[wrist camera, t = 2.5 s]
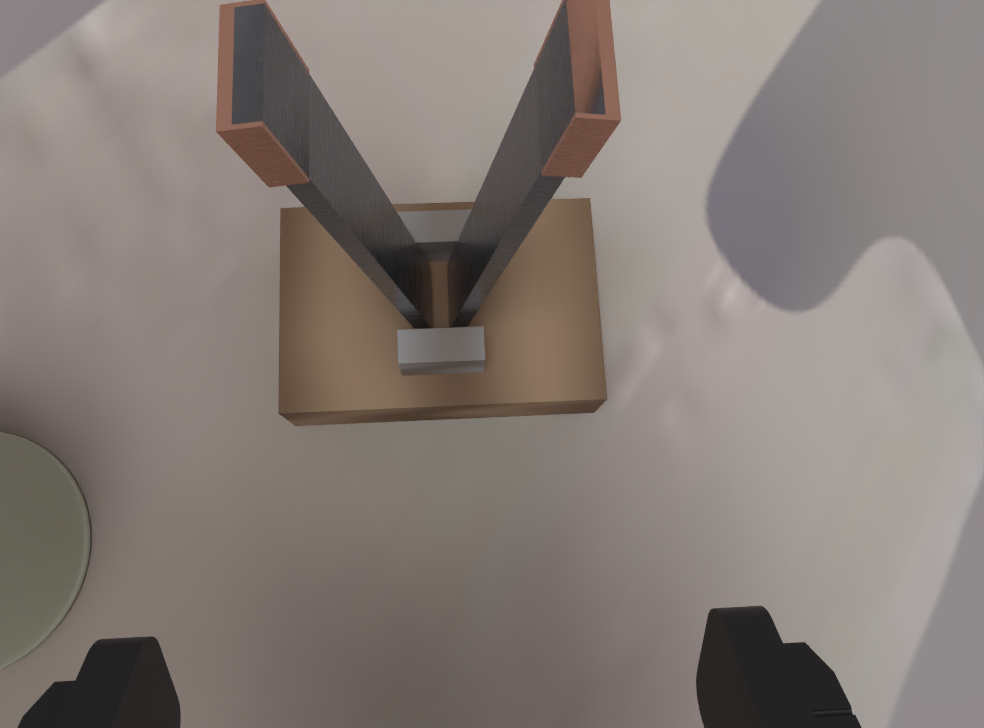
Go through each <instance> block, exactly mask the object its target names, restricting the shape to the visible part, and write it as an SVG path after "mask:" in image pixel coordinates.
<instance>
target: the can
mask: <svg viewBox="0 0 984 728" xmlns="http://www.w3.org/2000/svg"><path fill="white" fill-rule="evenodd" d="M89 553H90V523H89V517H88V511H87V508H86V505H85V501H84V498H83V496H82V493H81V491H80V489H79V487H78V485H77V484H76V482H75V480H74V478H73V477H72V476H71V474H70V473H69V472H68V470H67V469H66V468H65V467H64V465H63V464H62V463H61V462H60V461H59V460H58V459H57V458H56V457H54V456H53V455H52V454H51V453H49V452H48V451H47V450H45V449H44V448H42V447H40V446H39V445H37V444H35V443H33V442H31V441H29V440H27V439H25V438H22V437H19V436H16V435H13V434H9V433H4V432H0V669H2V668H5V667H7V666H9V665H11V664H12V663H14V662H16V661H17V660H19V659H21V658H22V657H24V656H25V655H27V654H28V653H29V652H31V651H32V650H33V649H35V648H36V647H37V646H38V645H39V644H41V643H42V642H43V641H44V640H45V639H46V638H47V637H48V636H49V635H50V634H51V633H52V632H53V631H54V629H55V628H56V627H57V626H58V625H59V623H60V622H61V621H62V619H63V618H64V617H65V615H66V614H67V612H68V611H69V609H70V607H71V606H72V604H73V602H74V600H75V599H76V596H77V594H78V592H79V590H80V588H81V585H82V582H83V579H84V576H85V573H86V569H87V565H88V560H89Z"/></svg>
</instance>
